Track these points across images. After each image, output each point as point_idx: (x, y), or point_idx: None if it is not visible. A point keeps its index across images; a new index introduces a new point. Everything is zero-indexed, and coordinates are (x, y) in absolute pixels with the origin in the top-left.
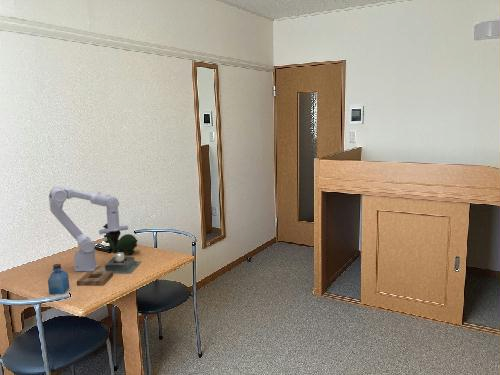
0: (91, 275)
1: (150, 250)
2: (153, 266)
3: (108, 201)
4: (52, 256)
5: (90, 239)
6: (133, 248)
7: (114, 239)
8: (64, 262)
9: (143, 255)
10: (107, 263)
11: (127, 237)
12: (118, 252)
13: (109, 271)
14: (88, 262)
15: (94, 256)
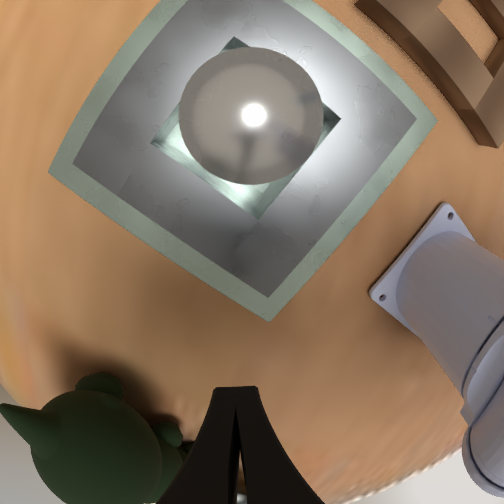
0: (490, 74)
1: (3, 358)
2: (22, 30)
3: None
4: (417, 467)
5: (484, 481)
6: (68, 392)
7: (264, 477)
8: (439, 412)
9: (29, 309)
10: (387, 139)
11: (77, 483)
12: (251, 179)
13: (391, 11)
14: (490, 254)
15: (466, 296)
